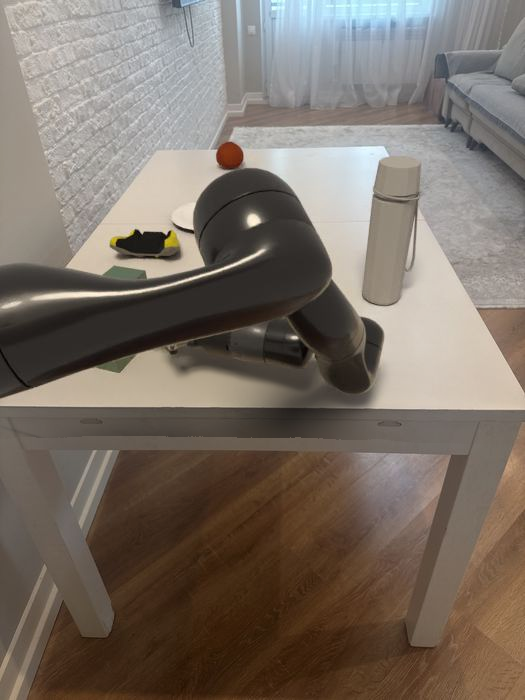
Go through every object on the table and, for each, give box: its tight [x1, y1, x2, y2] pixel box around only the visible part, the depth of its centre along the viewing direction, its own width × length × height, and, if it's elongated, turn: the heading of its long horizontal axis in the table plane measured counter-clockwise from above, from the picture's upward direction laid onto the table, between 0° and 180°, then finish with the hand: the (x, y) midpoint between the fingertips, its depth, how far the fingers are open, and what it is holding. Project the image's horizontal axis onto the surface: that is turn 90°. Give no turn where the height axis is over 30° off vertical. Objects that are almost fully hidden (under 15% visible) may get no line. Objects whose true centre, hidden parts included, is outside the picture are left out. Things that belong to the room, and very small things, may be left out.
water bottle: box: [361, 155, 423, 306], centre depth 85 cm, size 9×8×25 cm
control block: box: [95, 265, 148, 374], centre depth 79 cm, size 6×12×12 cm, turn 160°
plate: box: [170, 200, 197, 232], centre depth 125 cm, size 21×21×2 cm
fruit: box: [215, 141, 245, 170], centre depth 157 cm, size 9×9×8 cm
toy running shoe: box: [109, 228, 181, 259], centre depth 109 cm, size 15×6×10 cm
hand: (139, 315), depth 77 cm, fingers closed
